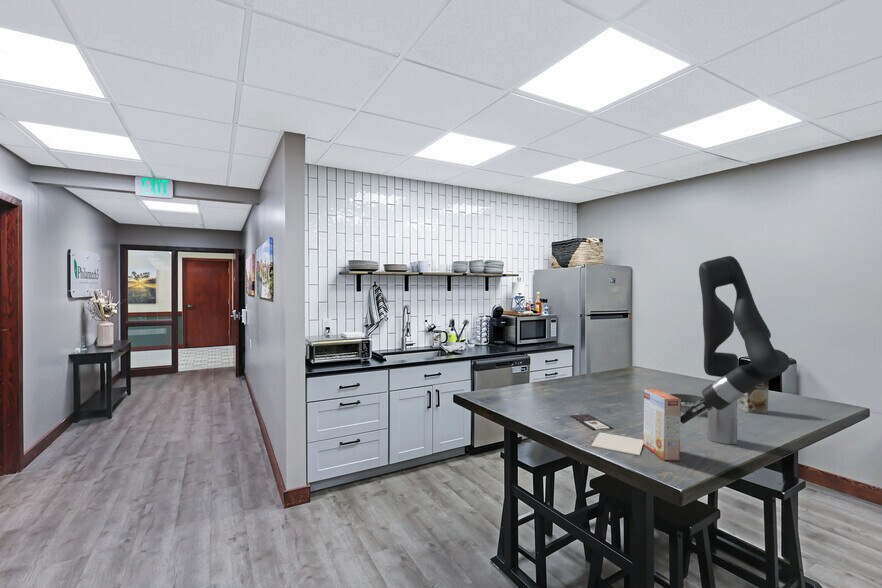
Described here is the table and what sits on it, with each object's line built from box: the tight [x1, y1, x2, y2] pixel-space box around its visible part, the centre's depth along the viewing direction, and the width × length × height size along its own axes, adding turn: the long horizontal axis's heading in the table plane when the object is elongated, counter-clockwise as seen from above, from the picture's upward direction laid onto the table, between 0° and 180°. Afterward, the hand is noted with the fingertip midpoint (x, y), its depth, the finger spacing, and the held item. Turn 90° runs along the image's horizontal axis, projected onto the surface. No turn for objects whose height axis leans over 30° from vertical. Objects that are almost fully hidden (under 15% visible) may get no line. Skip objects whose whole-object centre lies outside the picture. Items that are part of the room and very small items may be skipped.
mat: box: [590, 431, 644, 457], centre depth 154 cm, size 16×16×1 cm
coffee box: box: [738, 380, 770, 414], centre depth 195 cm, size 9×6×16 cm
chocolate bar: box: [569, 413, 613, 431], centre depth 178 cm, size 9×1×18 cm
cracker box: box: [642, 388, 682, 461], centre depth 145 cm, size 14×6×21 cm, turn 0°
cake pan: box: [669, 393, 708, 416], centre depth 199 cm, size 25×25×4 cm
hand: (681, 420), depth 140 cm, fingers closed
